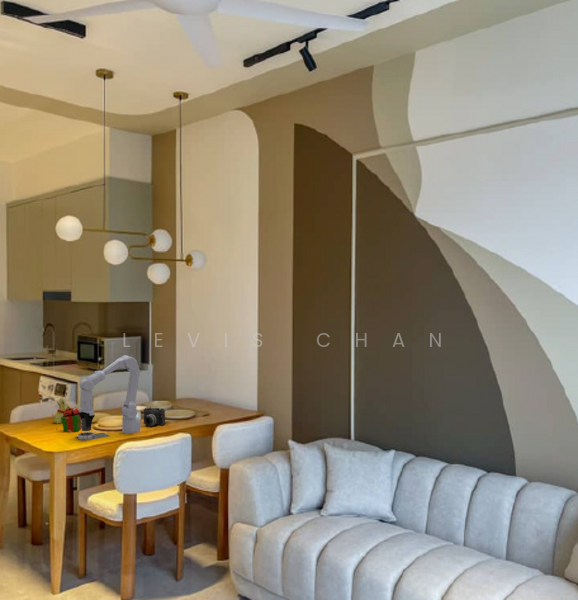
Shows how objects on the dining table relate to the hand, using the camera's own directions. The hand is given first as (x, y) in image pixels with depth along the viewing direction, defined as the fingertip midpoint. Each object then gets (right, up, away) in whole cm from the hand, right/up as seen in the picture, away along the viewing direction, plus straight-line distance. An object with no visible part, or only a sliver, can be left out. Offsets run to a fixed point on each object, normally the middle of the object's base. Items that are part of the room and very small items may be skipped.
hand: (86, 426), depth 320 cm
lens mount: (+3, -7, +3) cm, 8 cm away
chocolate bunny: (-28, -6, +38) cm, 47 cm away
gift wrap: (-14, -7, +14) cm, 21 cm away
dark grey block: (0, -2, 0) cm, 2 cm away
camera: (+27, -7, +34) cm, 44 cm away
